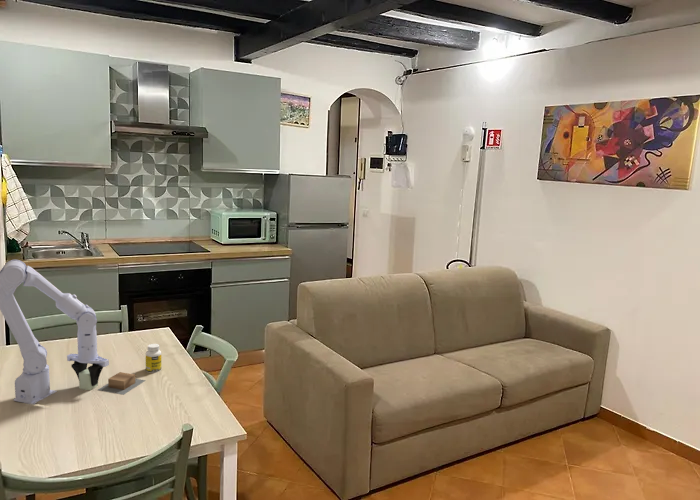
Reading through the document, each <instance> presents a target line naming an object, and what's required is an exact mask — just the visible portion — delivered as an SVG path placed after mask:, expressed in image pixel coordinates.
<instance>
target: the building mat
mask: <svg viewBox="0 0 700 500" xmlns="http://www.w3.org/2000/svg"><path fill="white" fill-rule="evenodd" d="M144 382H146V380H145V379H141V378H135V384H133V385H131V386H130V387H128V388H127V389H125V390H121V389H116V388H110V387H108V383H107V384H105V385H103V386H102V387H99V388H98V389H97V391H100V392H105V393H111V394H118V395H123V396H124V395H126V394H127V393H129V392H130V391H132V390H133V389H135V388H136V387H138V386H140V385H141V384H143V383H144Z"/></svg>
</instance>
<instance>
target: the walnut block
mask: <svg viewBox="0 0 700 500" xmlns="http://www.w3.org/2000/svg"><path fill="white" fill-rule="evenodd" d="M107 379H108V381H107V382H108V383H107V384H108V387H110V388H116V389H121V390H125V389H127V388H128V387H130V386H131V385H133V384H135V379H136V374H133V373H128V372H121V371H120V372H118V373H116V374H114V375H112V376H111V377H109V378H107Z"/></svg>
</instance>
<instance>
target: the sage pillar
mask: <svg viewBox="0 0 700 500" xmlns="http://www.w3.org/2000/svg"><path fill="white" fill-rule="evenodd" d="M78 383H79V384H78V385H79V386H78V387H79V389H80V390H86V391H92V390H93V389H95V388H96V387H99V383H98V384H96V385H95V386H92V385H91V377H90V373H89V370H88V368H87V369H86V370H84V371H82V372H80V373H79V379H78Z"/></svg>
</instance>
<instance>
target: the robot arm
mask: <svg viewBox="0 0 700 500" xmlns="http://www.w3.org/2000/svg"><path fill="white" fill-rule="evenodd" d="M22 283H23V285H22V287H34V288H36V289H37V290H39V291H40V292H41V293H42V294H44V295H46V296H47V297H49V298H50V299H52V300H53V301H54V302H55V307H56V309H58V310H60V311H61V312H62V313H64V315H66V316H67V317H68V318H70V319H71V320H74V321H76V322H75V323H76V325H77V332H76V333H77V335H76V337H77V338H76V339H77V353H70V354H67V355H66V359H67V360H66V361H67V362H73V363H71V365H70V366H71V368H72V369H73V371H74V372H75V374H76V376H77V379H78V380H79V373H80V372H82V371H84V370H86V369H88V370H89V373H90V377H91V385H92V386H95V385H96V384H98V385H99V378H100V376H101V373H102V371H103V368H106V367H108V366H109V365H110V361H109V359H107V358H104V357H102V356H100V355H99V353H98V337H97V333H98V331H97V323H98V319H97V315H96V311H95V310H94V309H93V307H91V306H89V305H88V304H84V303H83V302H81V301H80V300H79V299H78V298H77V295H76V294H75V293H73V294H71V292H62V291H61V290H60V289H58V288H57V287H56V286H55V285H53V283H51V281H49V280H47V278H45V276H43V275H42V274H40V272H38V271H37V270H35V269H34V268H33V267H32V266H30V265H26V262H24V261H22V260H19V259H11V260H8V261H7V262H6V263H5V264H4V265H3V266H2V268H1V269H0V312H1V314H2V316H3V318H4V320H5V322H6V324H7V325H8V328H9V329H10V332H11V333H12V336H13V338H14V339H15V342H16V343H17V345H18V346H19V350H20V354H21V357H22V360H23V364H22V365H23V368H22V372H21V374H20V375H18V377H16V378H15V380H14V391H15V392H14V393H15V394H14V395H15V396H14V397H15V398H13V401H14V402H18V403H23V404H24V403H25V404H30V405H36V404H37V402H40V401H42V400H44V399H46V398H48V397H49V396H51V395H53V394H55V393H56V392H58V391H57V390H55V389H51V383H50V382H51V381H50V379H51V378H50V365H49V364H47V363H48V362H47V361H48V360H47V357H48V350H47V348H45V347H44V346H43V345H42V344H41V343H40V341H39V340H38V339H37V338H36V337H35V335H34V332H33V331H32V329H31V327H30V325H29V323H28V321H27V319H26V317H25V315H24V313H23V311H22V310H21V307H20V305H19V304H18V303H19V302H17V300H16V297H15V295H14V293H15V292H16V290H17V288H18V287H20V285H21V284H22ZM88 364H91V365H90V366H88Z"/></svg>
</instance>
